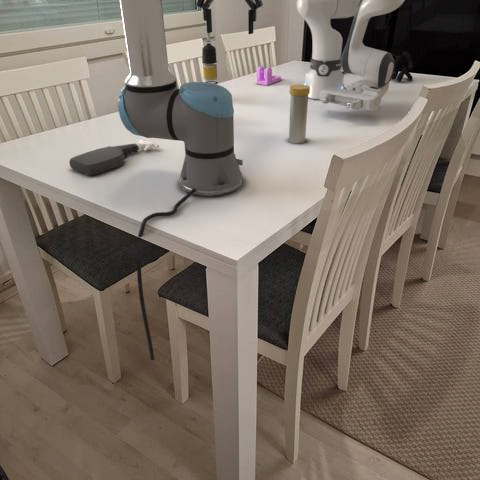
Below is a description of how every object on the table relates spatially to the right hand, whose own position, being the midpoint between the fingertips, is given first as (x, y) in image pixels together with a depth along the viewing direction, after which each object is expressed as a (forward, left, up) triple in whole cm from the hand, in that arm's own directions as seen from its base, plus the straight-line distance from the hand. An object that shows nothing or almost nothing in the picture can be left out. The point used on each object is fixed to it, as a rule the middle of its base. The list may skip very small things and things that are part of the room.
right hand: (336, 103), depth 145 cm
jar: (+19, -9, -7) cm, 22 cm away
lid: (+19, -9, +9) cm, 23 cm away
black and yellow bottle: (-21, -52, -7) cm, 56 cm away
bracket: (-55, -36, -7) cm, 66 cm away
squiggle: (-71, +20, -7) cm, 74 cm away
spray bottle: (+47, -54, -7) cm, 72 cm away
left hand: (+6, -34, +21) cm, 40 cm away
